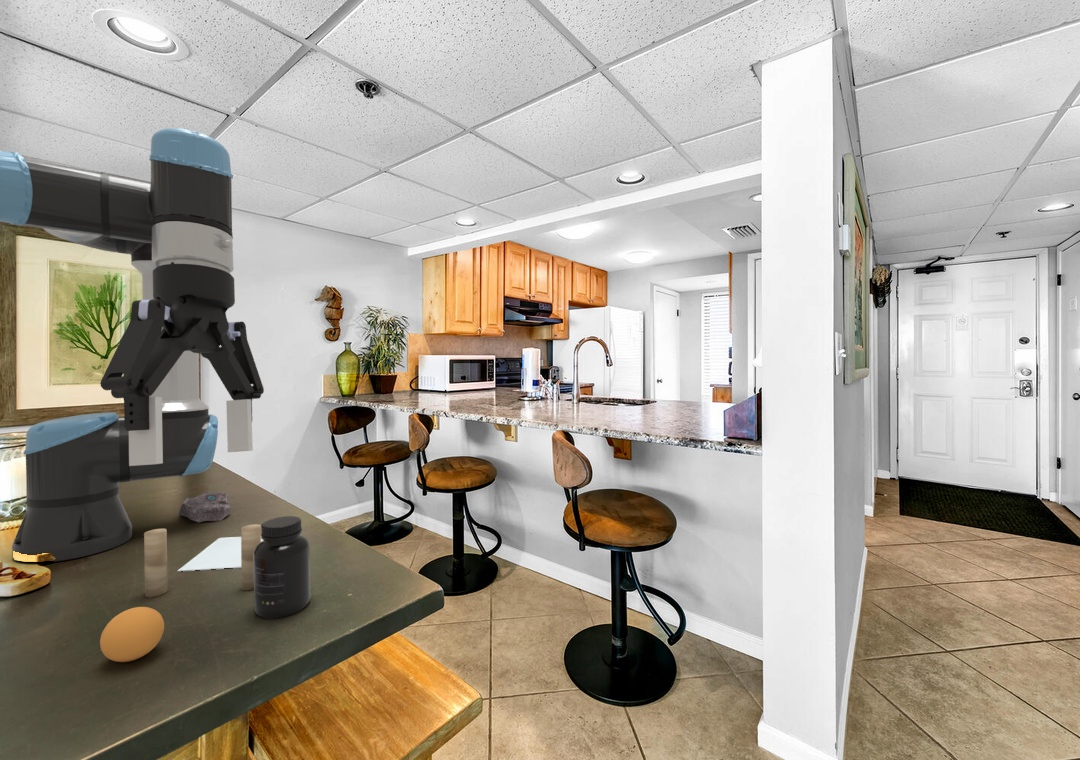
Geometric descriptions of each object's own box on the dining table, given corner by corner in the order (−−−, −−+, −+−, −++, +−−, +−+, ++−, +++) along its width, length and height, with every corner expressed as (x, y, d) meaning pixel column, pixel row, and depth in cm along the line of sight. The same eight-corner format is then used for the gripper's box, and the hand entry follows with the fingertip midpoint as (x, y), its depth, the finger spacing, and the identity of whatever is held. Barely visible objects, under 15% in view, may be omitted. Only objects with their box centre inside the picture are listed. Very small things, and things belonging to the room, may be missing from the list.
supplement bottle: (273, 593, 68) (273, 512, 68) (319, 595, 68) (319, 513, 68) (241, 619, 61) (241, 529, 61) (293, 621, 61) (292, 530, 61)
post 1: (151, 589, 69) (150, 529, 68) (171, 588, 69) (170, 528, 69) (140, 597, 66) (139, 535, 66) (160, 596, 67) (160, 534, 66)
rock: (190, 528, 94) (190, 505, 94) (175, 515, 101) (175, 494, 101) (236, 518, 100) (236, 497, 100) (219, 507, 107) (219, 487, 107)
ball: (121, 645, 55) (121, 599, 55) (174, 640, 56) (174, 596, 56) (87, 676, 50) (86, 625, 50) (145, 670, 51) (145, 621, 51)
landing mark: (219, 538, 88) (219, 537, 88) (299, 534, 91) (299, 533, 91) (177, 571, 74) (177, 570, 74) (273, 565, 77) (273, 564, 77)
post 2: (245, 583, 71) (245, 524, 71) (263, 581, 72) (263, 524, 71) (238, 591, 69) (238, 530, 68) (257, 589, 69) (257, 529, 69)
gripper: (127, 226, 41) (130, 470, 40) (289, 294, 66) (294, 445, 65) (44, 233, 41) (45, 475, 40) (237, 298, 66) (241, 449, 65)
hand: (199, 457), depth 52 cm, fingers open, 13 cm apart
